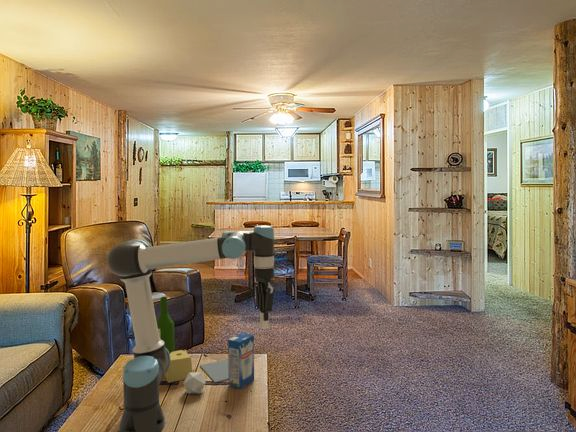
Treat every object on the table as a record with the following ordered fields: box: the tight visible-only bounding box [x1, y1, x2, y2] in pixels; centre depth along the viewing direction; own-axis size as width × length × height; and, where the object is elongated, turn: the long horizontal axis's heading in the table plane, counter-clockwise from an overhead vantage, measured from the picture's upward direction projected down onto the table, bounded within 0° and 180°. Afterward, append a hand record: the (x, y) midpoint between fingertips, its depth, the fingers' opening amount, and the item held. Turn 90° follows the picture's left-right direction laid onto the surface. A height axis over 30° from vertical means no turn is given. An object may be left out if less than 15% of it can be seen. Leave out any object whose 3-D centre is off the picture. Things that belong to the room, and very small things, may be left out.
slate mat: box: [199, 358, 229, 384], centre depth 198 cm, size 18×20×1 cm
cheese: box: [164, 349, 193, 384], centre depth 191 cm, size 10×11×10 cm
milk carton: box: [227, 332, 255, 390], centre depth 185 cm, size 10×6×20 cm, turn 148°
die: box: [183, 371, 206, 395], centre depth 177 cm, size 8×9×10 cm
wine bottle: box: [156, 296, 176, 353], centre depth 202 cm, size 9×9×32 cm
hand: (264, 328), depth 164 cm, fingers closed
